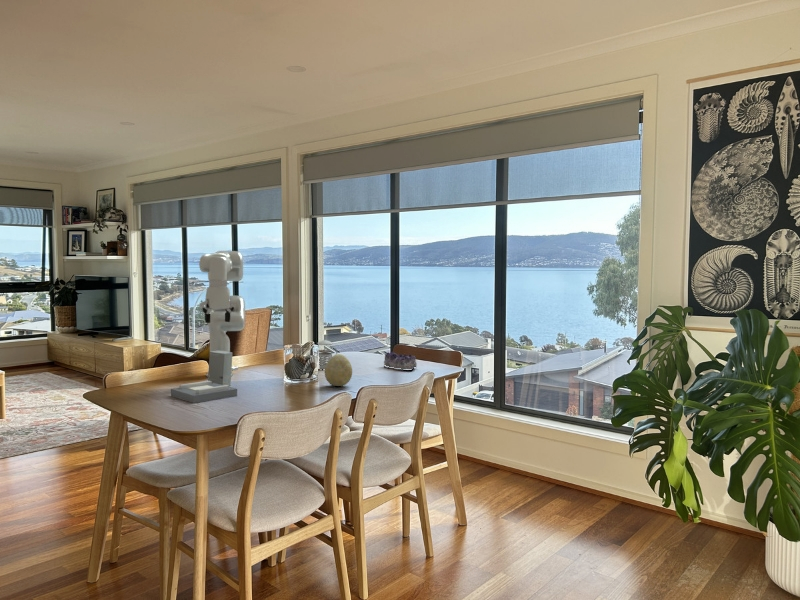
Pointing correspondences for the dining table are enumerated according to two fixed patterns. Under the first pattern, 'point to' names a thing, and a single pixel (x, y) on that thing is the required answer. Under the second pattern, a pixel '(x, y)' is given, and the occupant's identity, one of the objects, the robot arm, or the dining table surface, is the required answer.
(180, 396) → the panel
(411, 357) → the geode
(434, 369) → the dining table surface
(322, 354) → the french press
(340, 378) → the fossilized egg
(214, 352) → the skincare box
